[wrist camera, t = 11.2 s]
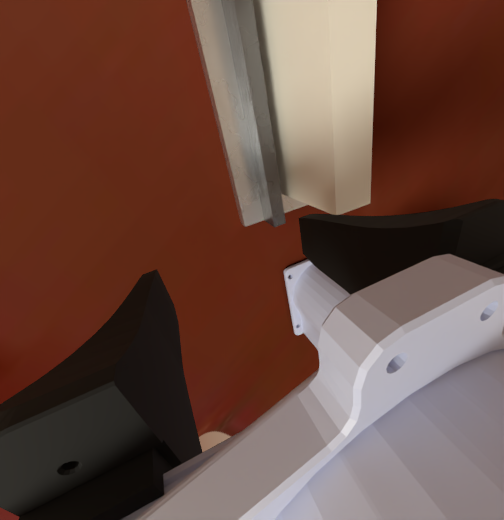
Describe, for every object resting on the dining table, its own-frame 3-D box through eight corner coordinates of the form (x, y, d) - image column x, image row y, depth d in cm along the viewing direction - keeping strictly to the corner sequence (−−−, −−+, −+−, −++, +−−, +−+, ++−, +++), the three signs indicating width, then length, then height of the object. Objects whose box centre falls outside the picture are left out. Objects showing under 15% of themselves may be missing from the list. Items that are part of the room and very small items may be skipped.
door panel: (307, 185, 21) (370, 203, 15) (282, 194, 21) (336, 215, 15) (289, -9, 15) (380, -103, 9) (252, -4, 15) (323, -101, 9)
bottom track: (337, 189, 24) (360, 195, 21) (241, 223, 21) (253, 234, 19) (329, -59, 16) (364, -97, 13) (174, -47, 14) (181, -89, 11)
